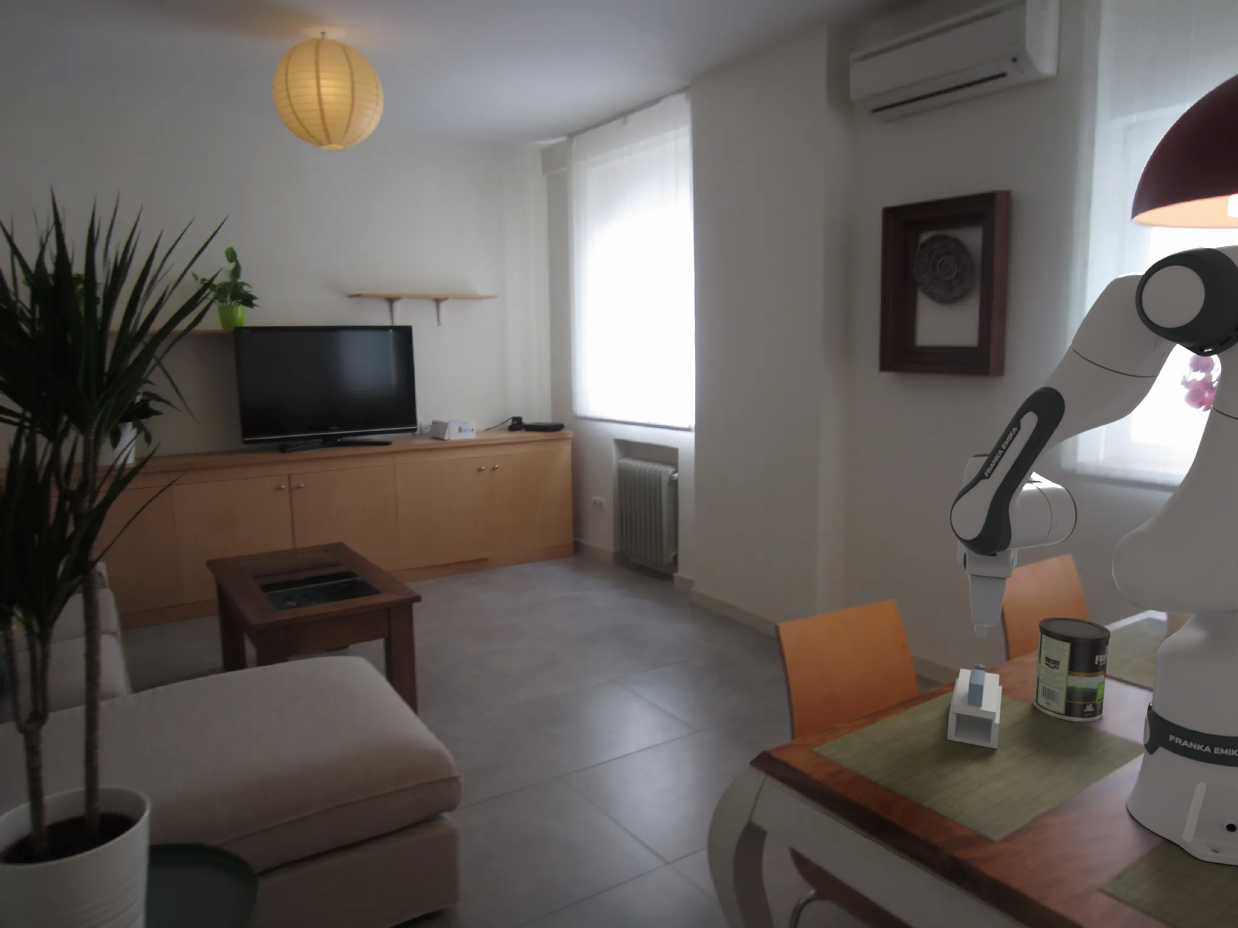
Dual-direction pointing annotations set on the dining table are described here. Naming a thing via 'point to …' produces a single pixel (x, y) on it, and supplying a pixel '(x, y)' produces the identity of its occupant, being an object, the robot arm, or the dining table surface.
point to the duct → (974, 726)
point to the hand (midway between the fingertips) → (980, 634)
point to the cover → (976, 692)
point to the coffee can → (1071, 669)
